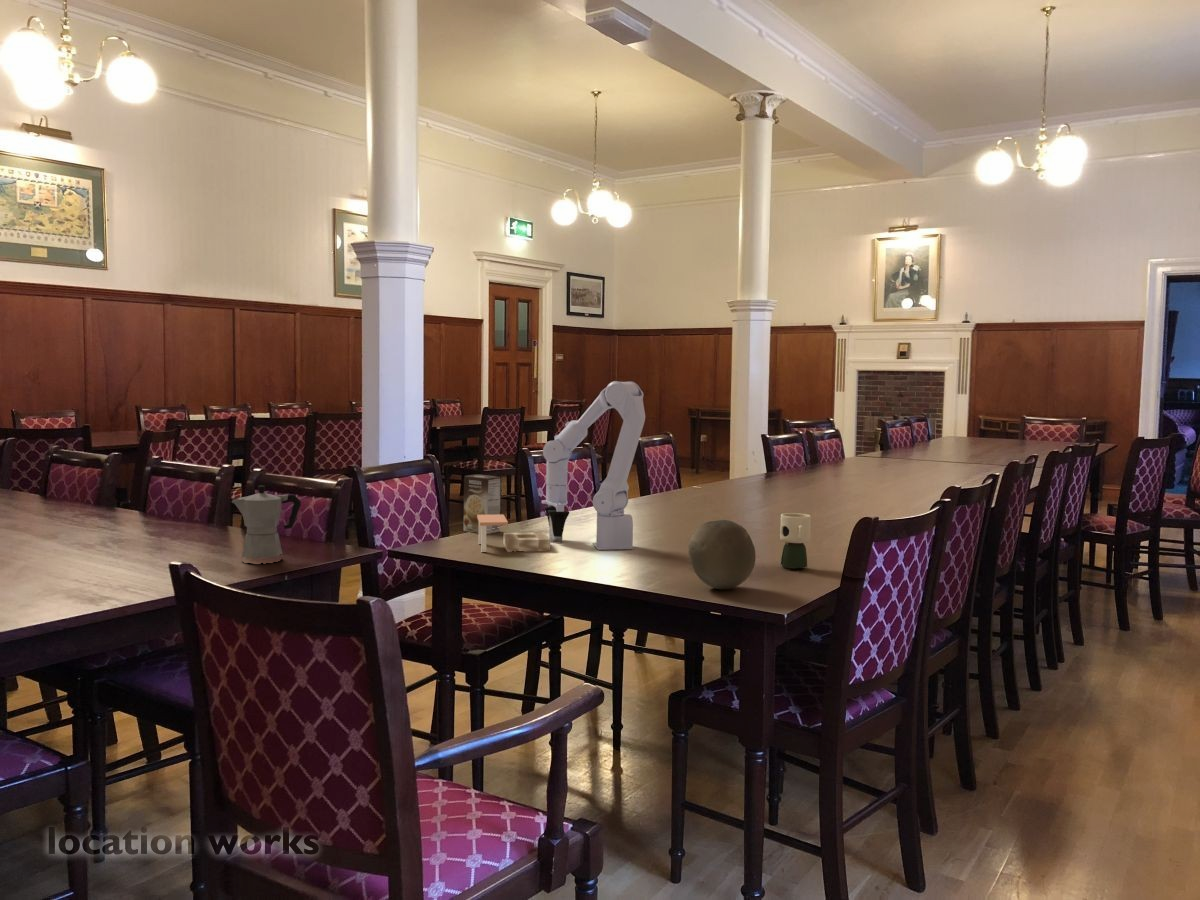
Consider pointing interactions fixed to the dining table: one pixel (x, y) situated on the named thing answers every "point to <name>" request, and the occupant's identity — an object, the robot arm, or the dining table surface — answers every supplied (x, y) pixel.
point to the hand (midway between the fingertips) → (555, 534)
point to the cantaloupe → (722, 554)
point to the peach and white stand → (488, 521)
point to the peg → (551, 535)
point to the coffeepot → (264, 522)
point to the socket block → (526, 541)
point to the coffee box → (481, 500)
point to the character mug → (794, 539)
